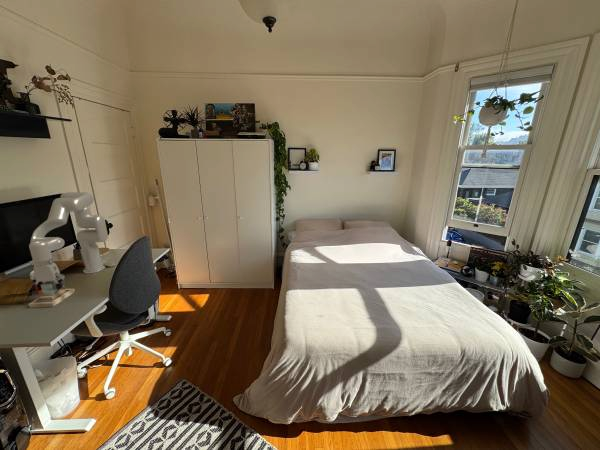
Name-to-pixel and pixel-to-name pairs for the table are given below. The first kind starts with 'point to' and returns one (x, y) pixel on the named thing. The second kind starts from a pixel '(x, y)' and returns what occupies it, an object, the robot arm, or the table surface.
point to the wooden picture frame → (51, 302)
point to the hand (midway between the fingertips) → (50, 289)
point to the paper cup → (36, 285)
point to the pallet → (50, 291)
